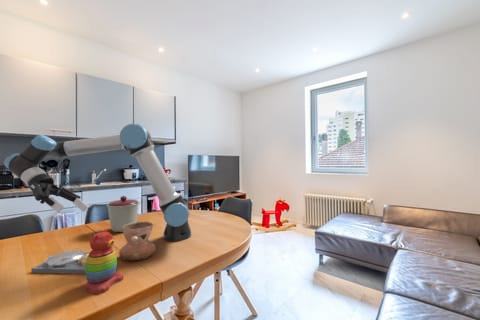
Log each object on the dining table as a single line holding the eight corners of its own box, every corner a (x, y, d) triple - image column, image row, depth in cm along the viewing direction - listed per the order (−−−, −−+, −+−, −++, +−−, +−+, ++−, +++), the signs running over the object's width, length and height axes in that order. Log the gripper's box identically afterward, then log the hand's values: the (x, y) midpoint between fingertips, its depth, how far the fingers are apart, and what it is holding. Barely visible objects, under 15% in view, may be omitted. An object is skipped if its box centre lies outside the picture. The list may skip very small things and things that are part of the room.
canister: (102, 230, 135) (102, 196, 135) (132, 223, 149) (132, 193, 149) (113, 236, 123) (113, 199, 123) (144, 229, 137) (144, 195, 137)
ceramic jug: (152, 263, 90) (153, 228, 91) (113, 267, 87) (114, 231, 87) (157, 247, 108) (157, 218, 108) (125, 250, 104) (125, 220, 104)
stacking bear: (102, 294, 69) (101, 238, 69) (75, 291, 71) (75, 237, 71) (126, 277, 80) (125, 228, 80) (102, 274, 82) (102, 227, 82)
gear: (95, 252, 98) (95, 249, 98) (68, 268, 83) (68, 265, 83) (64, 252, 98) (64, 249, 99) (32, 268, 84) (32, 264, 84)
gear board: (115, 256, 97) (115, 245, 98) (91, 273, 82) (91, 260, 83) (64, 255, 99) (64, 244, 99) (31, 272, 84) (31, 259, 84)
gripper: (56, 189, 104) (89, 215, 101) (-1, 184, 79) (40, 218, 77) (67, 176, 105) (100, 202, 102) (14, 167, 81) (55, 200, 78)
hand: (74, 209), depth 89 cm, fingers open, 13 cm apart
